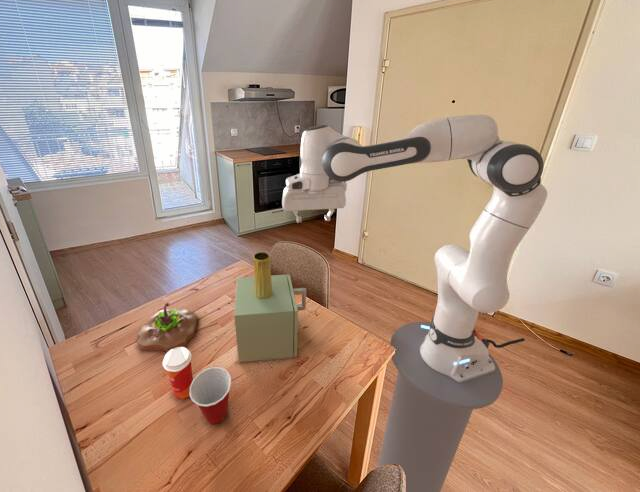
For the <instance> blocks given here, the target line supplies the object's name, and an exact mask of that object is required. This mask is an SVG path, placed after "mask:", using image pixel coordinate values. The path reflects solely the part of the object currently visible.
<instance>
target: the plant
mask: <svg viewBox="0 0 640 492" xmlns="http://www.w3.org/2000/svg"><path fill="white" fill-rule="evenodd" d="M170 304H171V303H170V302H168V301H167V302H165V303H164V307H163V309H160V310H159V311H157V312H156V313H155V314H154V315H152V316H151V317H149V318H148V320H147V322H146V324H145V325H143V326H141V327H140V331H138V333H137V336H138V339H137V341H136V343H137V346H138V348H140V349H141V350H143V351H148V352H149V351H162V352H166V353H167V352H168V351H169V350H171V349H175V348H177V347H180V348H181V347H185V348H186V346H187V343H188V342H189V341H190V340H191V339H193V338H194V336H195V333H196V329H197V324H198V319H199V318H198V314H196V313H194V312H193V311H191V310H189V309H187V308H180V307H174V308H170V309H169V308H168V309H167V307H170Z"/></svg>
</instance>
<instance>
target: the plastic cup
mask: <svg viewBox="0 0 640 492" xmlns="http://www.w3.org/2000/svg"><path fill="white" fill-rule="evenodd" d="M231 386H232V376H231V374H230V373H229V371H228V370H227V369H225V368H223V367H220V366H212V367H208V368H205V369H202V371H200V372H198V373H197V375H195V377H194V378H193V381H192V383H191V385H190V392H189V395H190V396H189V397H190V400H191V401H192V402H193V403H194V404H196V405H197V406H198V408H199V409H200V412H201V413H202V415H203V416H204V418H205V421H206V422H207V423H209V424H211V425H216V424H219V423H221V422H222V421H223V420H224V419H225V418H226V415H227V412H228V406H229V396H230V390H231Z"/></svg>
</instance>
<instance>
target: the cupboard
mask: <svg viewBox="0 0 640 492" xmlns="http://www.w3.org/2000/svg"><path fill="white" fill-rule="evenodd" d="M271 281H272V295H271V296H270V297H268V298H258V297H256V296H255V295H254V290H255V285H254V276H243V277H236V282H235V283H236V285H235V298H234V299H235V301H234V314H233V315H234V325H235V326H234V328H235V336H236V338H235V339H236V346H237V347H236V349H237V359H238V363H246V362H256V361H257V362H258V361H266V360H269V361H270V360H280V359H289V358H291V359H292V358H294V353H293V337H294V310H293V305H292V300H291V295H290V290H289V285H288V281H287V274H274V275H272V274H271Z"/></svg>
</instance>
